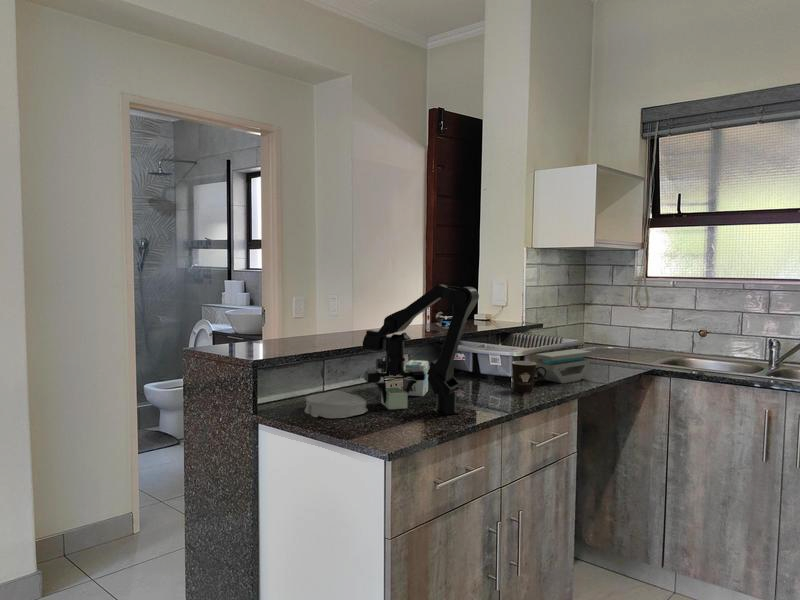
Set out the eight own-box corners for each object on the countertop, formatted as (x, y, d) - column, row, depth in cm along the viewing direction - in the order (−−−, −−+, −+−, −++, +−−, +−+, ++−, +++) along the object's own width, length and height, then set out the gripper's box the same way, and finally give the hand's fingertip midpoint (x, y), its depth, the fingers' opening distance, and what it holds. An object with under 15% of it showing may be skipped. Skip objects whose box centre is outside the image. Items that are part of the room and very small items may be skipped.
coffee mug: (507, 391, 223) (508, 363, 222) (515, 387, 231) (516, 360, 230) (540, 395, 218) (541, 366, 217) (546, 390, 225) (547, 363, 224)
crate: (407, 408, 195) (408, 392, 195) (388, 409, 193) (389, 393, 193) (398, 401, 204) (399, 386, 204) (380, 402, 202) (380, 387, 202)
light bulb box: (423, 396, 212) (424, 365, 211) (404, 395, 213) (404, 364, 213) (428, 390, 222) (429, 360, 222) (409, 389, 224) (410, 359, 223)
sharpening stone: (574, 375, 256) (575, 349, 255) (590, 378, 250) (591, 351, 249) (534, 382, 241) (535, 354, 240) (551, 385, 235) (552, 356, 234)
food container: (291, 410, 193) (291, 388, 193) (346, 400, 205) (346, 380, 205) (324, 425, 177) (324, 402, 177) (381, 414, 189) (381, 392, 189)
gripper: (414, 349, 208) (413, 395, 209) (360, 350, 203) (359, 398, 204) (425, 354, 197) (424, 403, 199) (368, 356, 192) (368, 406, 193)
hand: (394, 402), depth 199 cm, fingers closed on crate, 6 cm apart
